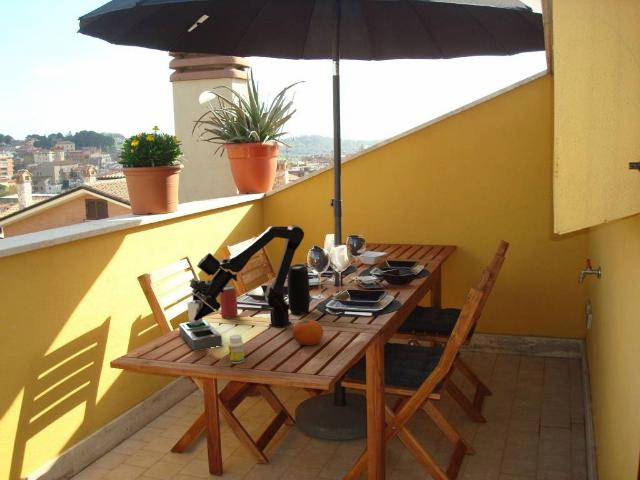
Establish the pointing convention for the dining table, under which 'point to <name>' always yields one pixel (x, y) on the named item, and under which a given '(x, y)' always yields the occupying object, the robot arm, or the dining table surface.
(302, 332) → the fruit
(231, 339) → the supplement bottle
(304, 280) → the portable speaker
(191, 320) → the steel sleeve
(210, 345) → the jig plate
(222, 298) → the beer can
